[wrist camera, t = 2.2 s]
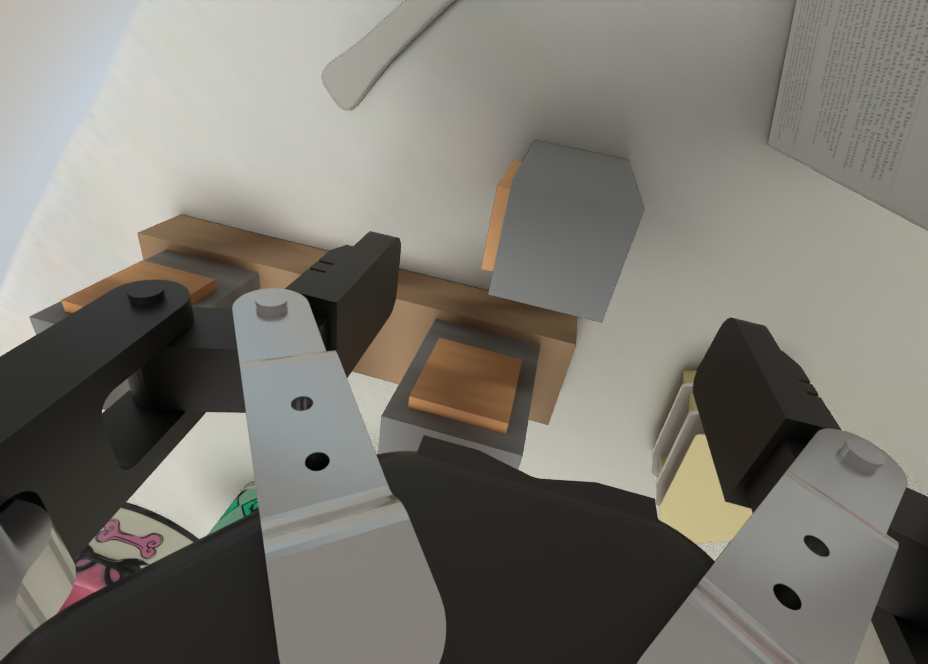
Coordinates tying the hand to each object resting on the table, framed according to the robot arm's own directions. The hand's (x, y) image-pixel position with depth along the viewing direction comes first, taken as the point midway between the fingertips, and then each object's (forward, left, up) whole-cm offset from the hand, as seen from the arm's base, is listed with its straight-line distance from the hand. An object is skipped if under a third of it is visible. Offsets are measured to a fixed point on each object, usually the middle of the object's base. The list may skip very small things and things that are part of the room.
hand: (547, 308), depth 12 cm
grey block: (0, 0, -11) cm, 11 cm away
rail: (+9, +8, -11) cm, 16 cm away
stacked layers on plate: (-10, +10, -12) cm, 18 cm away
